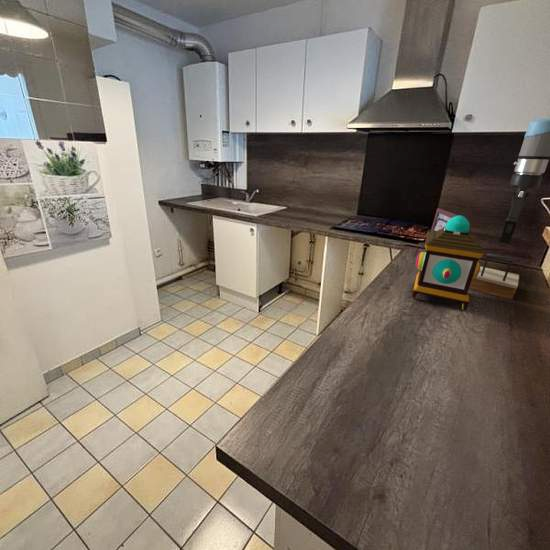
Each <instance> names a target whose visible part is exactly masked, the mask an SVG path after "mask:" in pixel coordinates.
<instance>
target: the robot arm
mask: <svg viewBox="0 0 550 550" xmlns="http://www.w3.org/2000/svg"><path fill="white" fill-rule="evenodd" d="M549 161H550V117H543V118H536V119H533V120H532V121H530V123H529V124H528V127H527V129H526V132H525V134H524V138H523V141H522V145H521V148H520V151H519V153H518V157H517V161H514V163H513V166H515V167H514V170H513V172H514V173H513V174H512V175H511V179H510V181H509V186H511V187H515V188H516V191H513V193H512V196H511V202H510V206H511V207H510V210H509V213H508V216H507V218H506V219H504V220H503V223H504V224H505V225H504V227H503V230H502V234H501V235H500V239H499V243H502V244H508V245H510V244H511V241H512V238H513V235H514V232H515V229H516V226H517V223H518V222H519V218H520V217H521V210H522V208H523V207H524V206H525V204H526V201H527V200H528V198H529V195H530V193H529V192H528V189H529V188H531V189H537V188H538V187H540V185H541V182H542V179H543V175H542V174H544V173H545V171H546V170H547V167H548V163H549Z"/></svg>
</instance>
